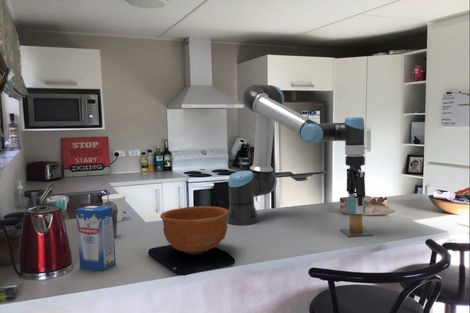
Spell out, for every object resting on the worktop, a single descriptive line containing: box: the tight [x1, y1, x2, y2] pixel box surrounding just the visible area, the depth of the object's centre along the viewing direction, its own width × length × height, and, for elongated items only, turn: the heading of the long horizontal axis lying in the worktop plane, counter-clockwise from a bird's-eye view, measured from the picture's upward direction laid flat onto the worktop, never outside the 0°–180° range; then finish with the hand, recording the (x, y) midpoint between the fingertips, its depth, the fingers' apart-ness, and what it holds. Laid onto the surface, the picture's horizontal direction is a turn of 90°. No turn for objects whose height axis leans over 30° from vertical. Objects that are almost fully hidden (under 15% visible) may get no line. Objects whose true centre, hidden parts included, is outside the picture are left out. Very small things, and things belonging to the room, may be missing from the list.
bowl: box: [159, 205, 229, 253], centre depth 146 cm, size 25×25×15 cm
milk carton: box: [75, 205, 117, 272], centre depth 135 cm, size 10×6×20 cm, turn 69°
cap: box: [345, 196, 366, 214], centre depth 164 cm, size 7×7×6 cm
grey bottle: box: [101, 190, 118, 239], centre depth 170 cm, size 7×7×20 cm
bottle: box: [339, 213, 374, 238], centre depth 164 cm, size 10×10×13 cm
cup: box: [101, 193, 127, 223], centre depth 202 cm, size 12×12×12 cm
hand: (355, 211), depth 164 cm, fingers closed on cap, 7 cm apart
